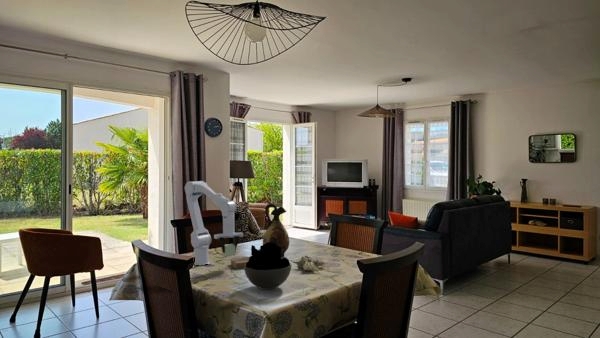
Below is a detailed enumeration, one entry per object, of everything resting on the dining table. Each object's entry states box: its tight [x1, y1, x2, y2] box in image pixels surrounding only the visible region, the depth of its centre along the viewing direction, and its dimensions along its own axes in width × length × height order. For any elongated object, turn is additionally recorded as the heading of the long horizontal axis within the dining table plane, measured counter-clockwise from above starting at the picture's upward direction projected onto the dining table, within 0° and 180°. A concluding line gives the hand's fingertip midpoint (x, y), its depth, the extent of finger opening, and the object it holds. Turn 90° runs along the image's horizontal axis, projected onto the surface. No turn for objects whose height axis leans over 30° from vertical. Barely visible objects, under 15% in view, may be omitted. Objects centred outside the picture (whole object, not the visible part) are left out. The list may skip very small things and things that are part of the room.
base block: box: [230, 256, 250, 270], centre depth 210 cm, size 11×11×3 cm
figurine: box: [288, 254, 330, 272], centre depth 201 cm, size 20×6×17 cm
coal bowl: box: [243, 242, 292, 290], centre depth 171 cm, size 20×20×19 cm
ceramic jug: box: [262, 203, 290, 258], centre depth 233 cm, size 17×15×30 cm
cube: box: [222, 243, 236, 257], centre depth 204 cm, size 5×5×5 cm
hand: (229, 252), depth 204 cm, fingers closed on cube, 5 cm apart
